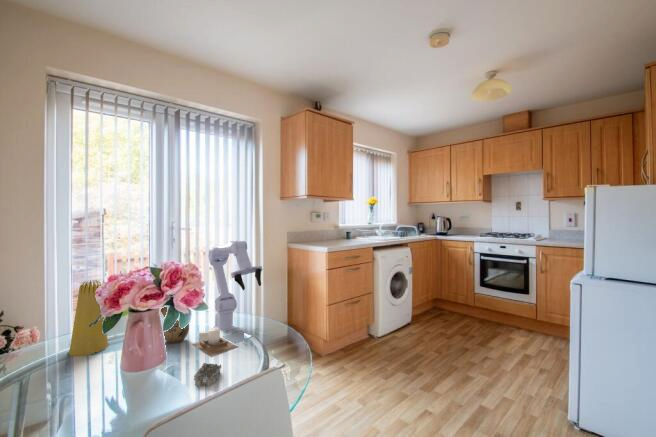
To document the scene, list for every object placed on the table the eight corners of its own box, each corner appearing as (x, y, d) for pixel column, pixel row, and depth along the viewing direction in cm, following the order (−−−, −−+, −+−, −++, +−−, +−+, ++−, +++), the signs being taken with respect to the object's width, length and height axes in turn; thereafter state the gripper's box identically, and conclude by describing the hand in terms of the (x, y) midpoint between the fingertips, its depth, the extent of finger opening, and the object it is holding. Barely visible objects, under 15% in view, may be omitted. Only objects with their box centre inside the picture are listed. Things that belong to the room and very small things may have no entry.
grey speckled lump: (213, 388, 102) (213, 376, 102) (191, 387, 102) (191, 376, 102) (223, 371, 113) (223, 361, 113) (203, 371, 113) (203, 360, 113)
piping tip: (115, 345, 132) (116, 279, 131) (79, 358, 119) (80, 286, 119) (98, 339, 137) (99, 276, 137) (61, 351, 125) (63, 282, 125)
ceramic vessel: (196, 338, 142) (197, 287, 142) (188, 346, 133) (190, 292, 133) (162, 338, 141) (163, 286, 141) (151, 346, 132) (153, 291, 132)
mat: (222, 337, 143) (222, 336, 143) (241, 331, 152) (241, 330, 152) (234, 344, 136) (234, 343, 136) (254, 337, 145) (254, 336, 145)
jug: (219, 342, 137) (219, 327, 137) (219, 346, 132) (219, 331, 132) (199, 344, 134) (199, 329, 134) (198, 349, 129) (198, 333, 129)
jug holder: (191, 345, 134) (191, 340, 134) (217, 337, 144) (217, 332, 144) (211, 358, 122) (211, 353, 122) (238, 348, 133) (238, 343, 132)
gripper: (229, 261, 134) (237, 287, 128) (259, 255, 142) (268, 279, 135) (228, 268, 139) (235, 294, 133) (257, 262, 147) (265, 286, 140)
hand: (252, 287), depth 134 cm, fingers open, 7 cm apart
